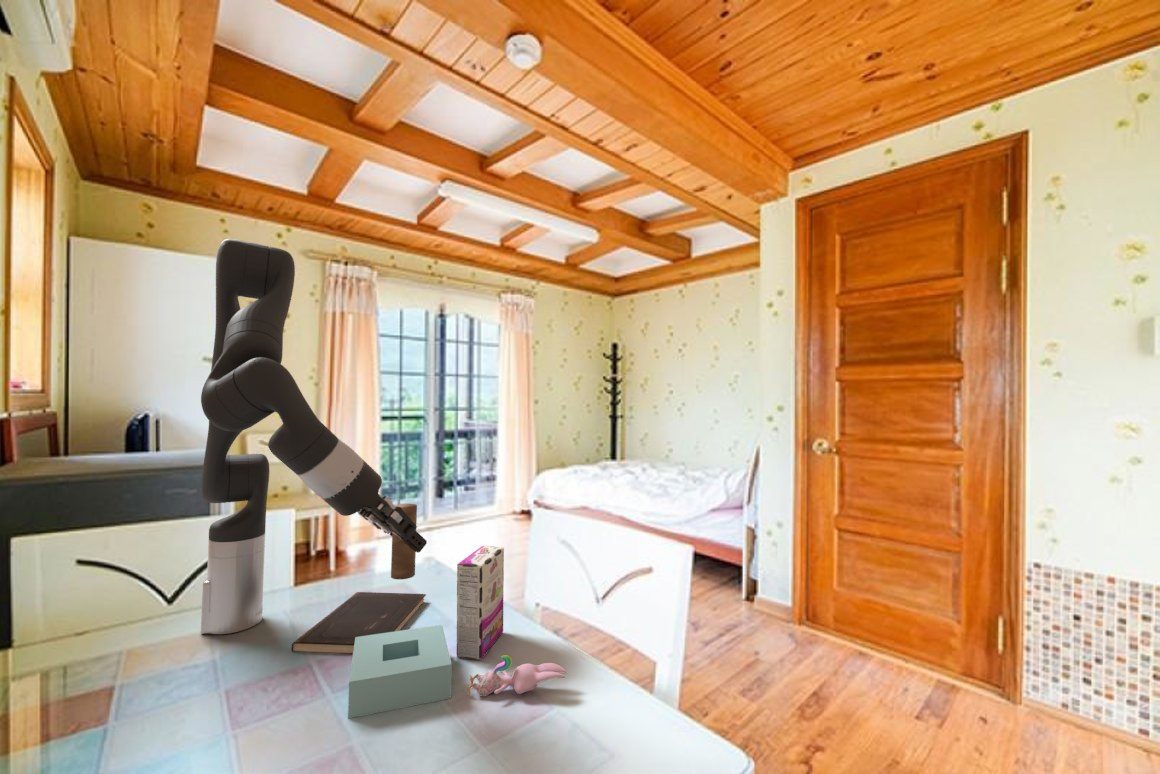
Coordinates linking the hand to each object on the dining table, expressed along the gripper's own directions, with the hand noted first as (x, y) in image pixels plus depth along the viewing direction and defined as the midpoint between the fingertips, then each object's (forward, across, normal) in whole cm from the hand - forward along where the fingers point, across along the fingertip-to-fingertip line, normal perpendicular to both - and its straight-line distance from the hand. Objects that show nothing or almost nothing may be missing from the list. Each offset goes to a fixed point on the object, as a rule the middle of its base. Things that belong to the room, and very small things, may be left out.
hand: (415, 544), depth 80 cm
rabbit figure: (+22, -15, +8) cm, 28 cm away
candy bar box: (+25, +1, +5) cm, 26 cm away
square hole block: (+14, 0, +16) cm, 21 cm away
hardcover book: (+18, +24, +14) cm, 33 cm away
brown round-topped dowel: (+2, 0, +5) cm, 5 cm away
